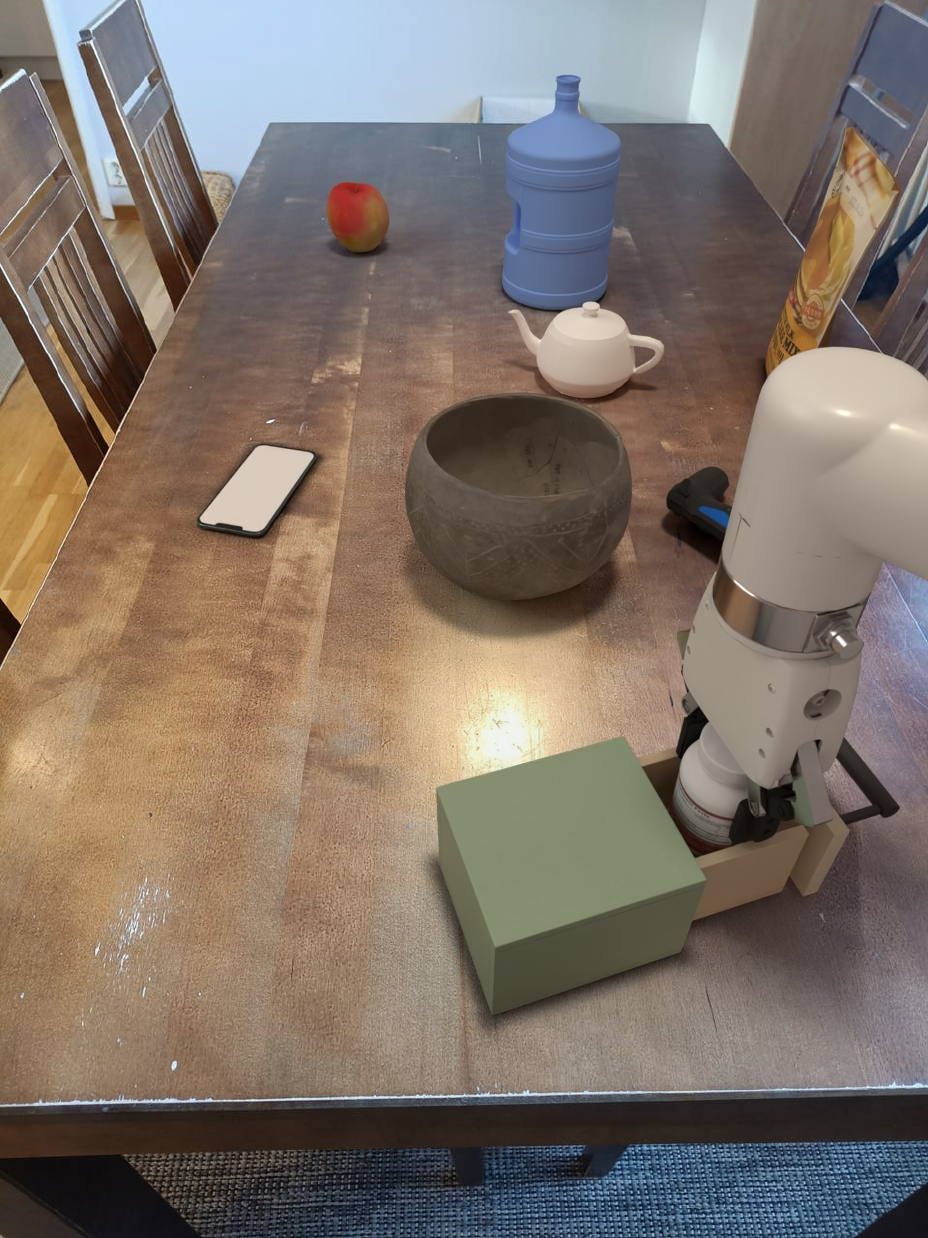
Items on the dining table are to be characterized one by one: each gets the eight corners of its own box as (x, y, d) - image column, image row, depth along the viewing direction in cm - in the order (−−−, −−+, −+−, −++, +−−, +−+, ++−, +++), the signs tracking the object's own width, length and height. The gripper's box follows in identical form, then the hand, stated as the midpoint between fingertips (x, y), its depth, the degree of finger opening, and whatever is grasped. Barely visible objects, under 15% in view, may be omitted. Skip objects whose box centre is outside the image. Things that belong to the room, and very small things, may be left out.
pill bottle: (728, 795, 66) (761, 696, 58) (769, 868, 62) (810, 771, 54) (649, 813, 65) (672, 715, 57) (685, 889, 60) (715, 793, 53)
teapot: (491, 389, 114) (492, 312, 107) (520, 345, 122) (523, 271, 115) (646, 417, 109) (659, 339, 102) (666, 370, 117) (679, 294, 110)
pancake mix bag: (810, 351, 121) (877, 122, 101) (828, 428, 107) (909, 180, 88) (759, 348, 121) (815, 119, 102) (770, 423, 108) (837, 176, 88)
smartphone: (257, 445, 105) (193, 527, 94) (257, 442, 105) (192, 523, 93) (320, 455, 103) (262, 539, 92) (320, 451, 103) (261, 535, 92)
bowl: (550, 484, 99) (560, 359, 89) (662, 598, 86) (689, 467, 75) (376, 539, 92) (364, 411, 82) (469, 671, 79) (469, 539, 69)
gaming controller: (688, 508, 100) (639, 498, 93) (715, 462, 98) (666, 448, 90) (810, 589, 90) (766, 585, 83) (843, 540, 88) (800, 532, 81)
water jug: (622, 281, 137) (648, 71, 117) (577, 322, 127) (597, 101, 108) (532, 260, 143) (542, 57, 123) (482, 297, 133) (485, 83, 113)
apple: (334, 263, 142) (327, 197, 135) (328, 240, 149) (321, 176, 142) (394, 258, 143) (390, 192, 136) (386, 235, 150) (382, 172, 143)
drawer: (808, 756, 71) (837, 691, 66) (892, 867, 64) (931, 805, 59) (593, 819, 67) (604, 756, 62) (656, 945, 60) (675, 886, 55)
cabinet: (609, 813, 69) (624, 735, 62) (681, 952, 61) (707, 879, 54) (439, 863, 66) (435, 786, 59) (491, 1016, 58) (494, 947, 51)
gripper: (963, 689, 42) (852, 888, 54) (762, 483, 53) (708, 685, 66) (823, 730, 40) (742, 925, 52) (648, 508, 52) (615, 710, 64)
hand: (724, 790), depth 59 cm, fingers closed on pill bottle, 6 cm apart
